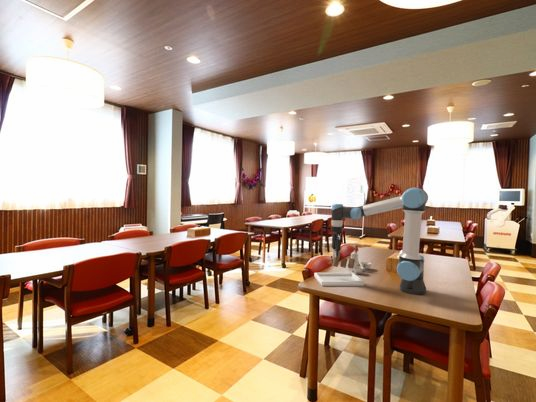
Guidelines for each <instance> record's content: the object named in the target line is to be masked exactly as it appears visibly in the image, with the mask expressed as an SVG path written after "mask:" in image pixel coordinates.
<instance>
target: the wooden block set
mask: <svg viewBox="0 0 536 402" xmlns="http://www.w3.org/2000/svg"><path fill="white" fill-rule="evenodd" d="M341 253H342V252H341V251H339V256H336V257H335V254H334V259H333V258H331V260H329V261H328V262H327V264H329V265H331V266H332V267H336V268H339V266H340V267H341V268H343V269H346V268H348V267H349V268H353V267H354V261H355V260H354V259H352V258H351V257H350V258H349V259H348V258H346V257H343V258H342V259H341V261H340V257H341ZM339 262H340V265H339ZM349 268H348V269H349Z"/></svg>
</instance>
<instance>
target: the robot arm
mask: <svg viewBox="0 0 536 402" xmlns="http://www.w3.org/2000/svg"><path fill="white" fill-rule="evenodd" d="M428 200H429V195H428V193H427V192H426V190H424V189H422V188H419V187H410V188H408V189H405V190H404V192H403V193H402V194H401V195H399V196H396V197H392V198H387V199H384V200H380V201H376V202H373V203H367V204H363V205H360V206H357V207H352V206H351V207H350V206H347V207H345V206H344V204H343V203H333V204H332V205H331V221H330V223H331V224H330V225H331V228H330V232H332V233H331V248H332V259H334V254H335V257H336V256H339V252H341V250H342V249H341V248H342V247H341V246H342V236H341V233H343V222H344V221H343V219H351V220H352V219H353V220H360V219H361V218H364V217H367V216H371V215H376V214H381V213H385V212H389V211H395V210H398V209H402V211H403V212H404V226H403V239H402V252H401V253H400V254H399V255H398V263H397V266H396V273H397V275H398V276H399V277H400V278H401V280H400V284H399V285H398V288H399V290H400V291H401V292H403V293H407V294H412V295H419V296H420V295H426V294H427V287H426V284H425V280H424V275H425V274H424V272H425V270H424V268H425V257H424V256H423V255H421V254H420V242H421V241H420V240H421V227H422V216H423V214H424V213H426V204H427V203H428Z"/></svg>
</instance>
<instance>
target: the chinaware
mask: <svg viewBox="0 0 536 402" xmlns="http://www.w3.org/2000/svg"><path fill="white" fill-rule="evenodd" d="M350 258H352V259H354V260H355V261H354V267H353V268H349V267H348V266H347V268H348V270H349V271H351V273H354V274H355V275H359V274H360V275H361V273H363V271H364V270H365V271H369V270H370V268H371V267H372V265H373V263H372V262H369V261H365V262H364V261H362V262H360V261H359V253H358V252H357V251H356V250H355V249H354V250H353V251H352V252H350Z"/></svg>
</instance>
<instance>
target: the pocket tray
mask: <svg viewBox="0 0 536 402" xmlns="http://www.w3.org/2000/svg"><path fill="white" fill-rule="evenodd" d="M313 274H314V276H313V277H314V278H315V280H316V281H317V282H318V283H319V285H320V284H321V285H320V286H321V287H364V286H365V281H364V280H363V279H362V278H360V277H359V276H357V274H355V273H354V272H314V273H313Z"/></svg>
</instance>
